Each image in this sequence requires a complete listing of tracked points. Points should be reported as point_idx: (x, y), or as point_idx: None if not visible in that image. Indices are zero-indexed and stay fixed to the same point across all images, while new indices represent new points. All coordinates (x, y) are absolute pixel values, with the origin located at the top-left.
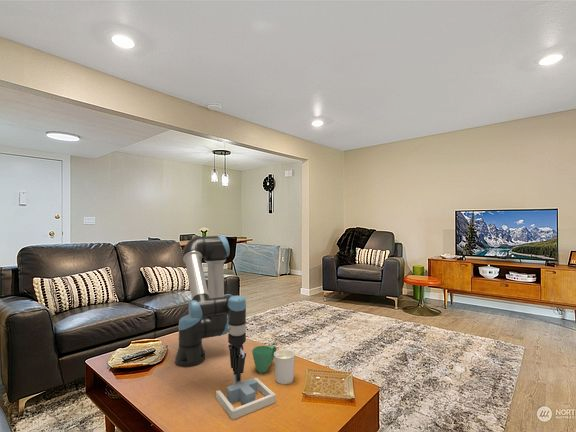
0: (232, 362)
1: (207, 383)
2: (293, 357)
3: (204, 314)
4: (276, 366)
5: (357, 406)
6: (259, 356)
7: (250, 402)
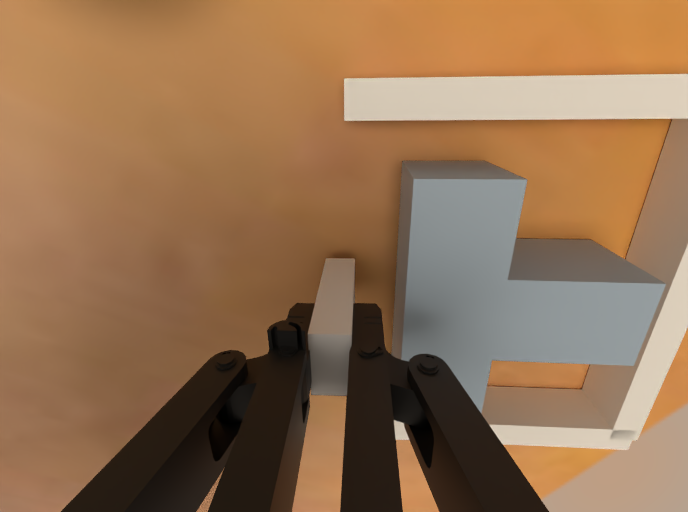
0: (216, 464)
1: (155, 378)
2: None
3: None
4: None
5: None
6: None
7: (658, 329)
